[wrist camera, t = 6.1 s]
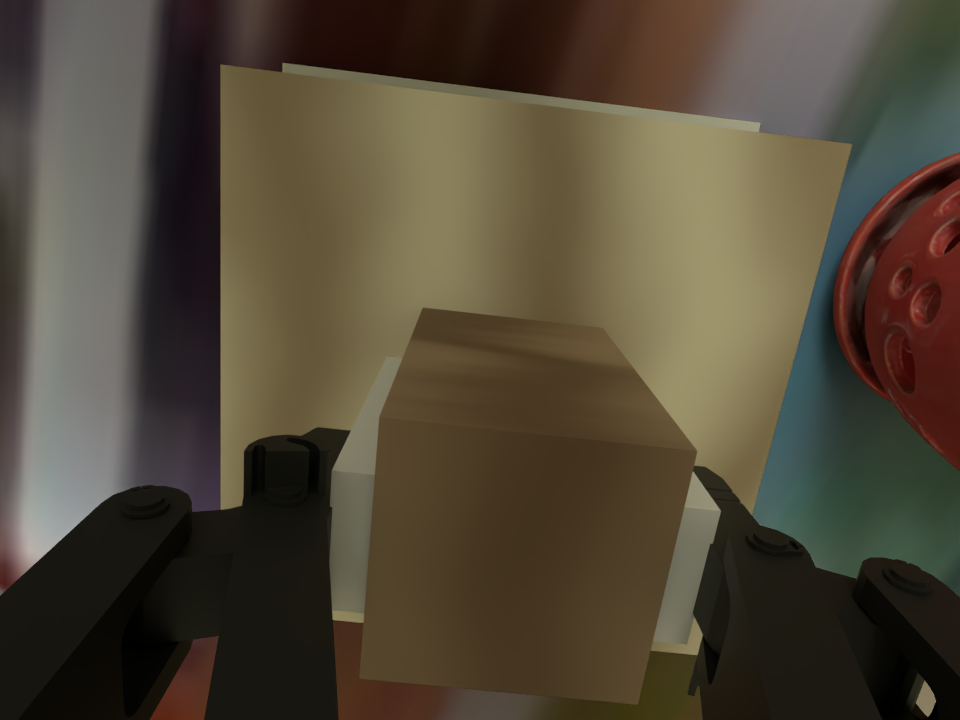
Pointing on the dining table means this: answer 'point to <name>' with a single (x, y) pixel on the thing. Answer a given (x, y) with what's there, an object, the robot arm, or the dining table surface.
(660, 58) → the dining table surface
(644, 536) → the lid
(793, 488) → the dining table surface
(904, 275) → the plant pot
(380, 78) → the mat
